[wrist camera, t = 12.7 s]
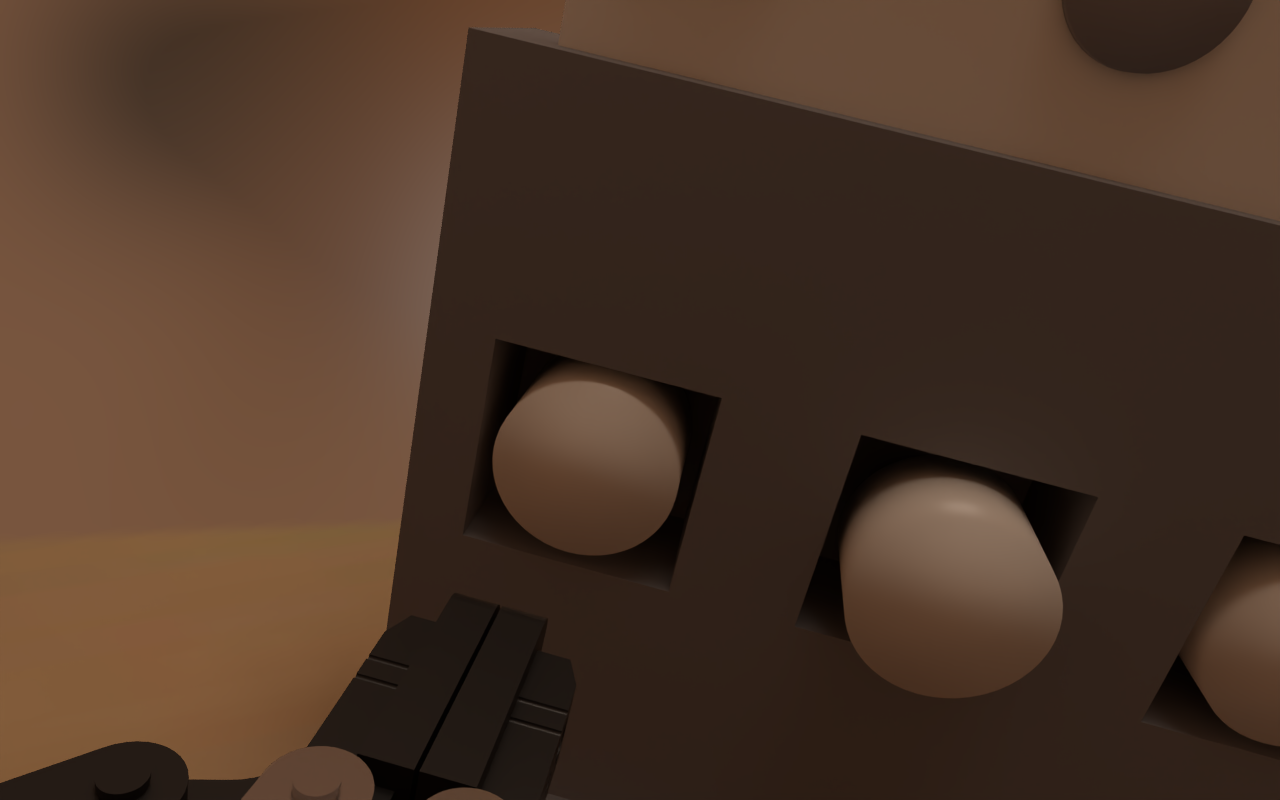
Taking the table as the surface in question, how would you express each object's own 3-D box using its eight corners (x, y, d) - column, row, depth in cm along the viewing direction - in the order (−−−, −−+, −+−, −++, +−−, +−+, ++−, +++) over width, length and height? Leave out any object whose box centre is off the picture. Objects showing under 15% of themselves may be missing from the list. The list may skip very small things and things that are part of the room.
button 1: (670, 513, 24) (710, 365, 23) (654, 576, 21) (698, 412, 20) (514, 471, 24) (542, 321, 23) (479, 527, 22) (508, 362, 20)
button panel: (1160, 841, 30) (1511, 261, 22) (1281, 1105, 23) (1863, 374, 15) (446, 639, 31) (549, 28, 24) (341, 827, 24) (441, 27, 16)
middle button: (987, 635, 22) (1056, 482, 21) (1015, 721, 19) (1098, 553, 18) (815, 587, 22) (869, 434, 21) (818, 666, 20) (882, 495, 18)
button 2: (1291, 681, 23) (1379, 540, 22) (1358, 769, 21) (1465, 615, 19) (1124, 636, 23) (1198, 493, 22) (1168, 717, 21) (1257, 559, 19)
